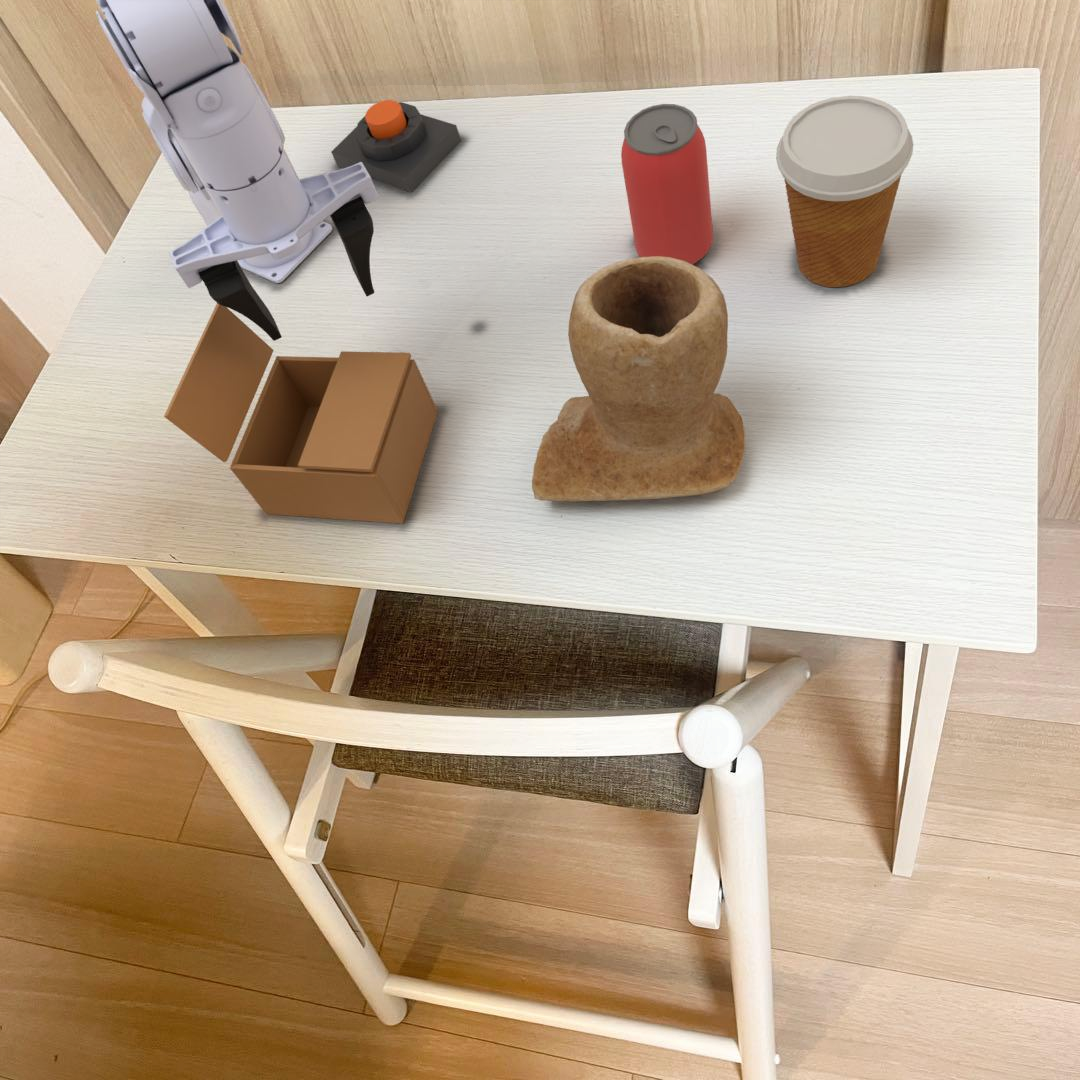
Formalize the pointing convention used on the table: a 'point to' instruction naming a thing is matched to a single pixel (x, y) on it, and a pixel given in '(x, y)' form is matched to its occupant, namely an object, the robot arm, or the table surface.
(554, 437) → the stone cup
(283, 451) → the carton
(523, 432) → the table surface
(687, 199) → the beer can
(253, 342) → the flap
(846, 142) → the disposable coffee cup
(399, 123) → the button
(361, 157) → the button box
